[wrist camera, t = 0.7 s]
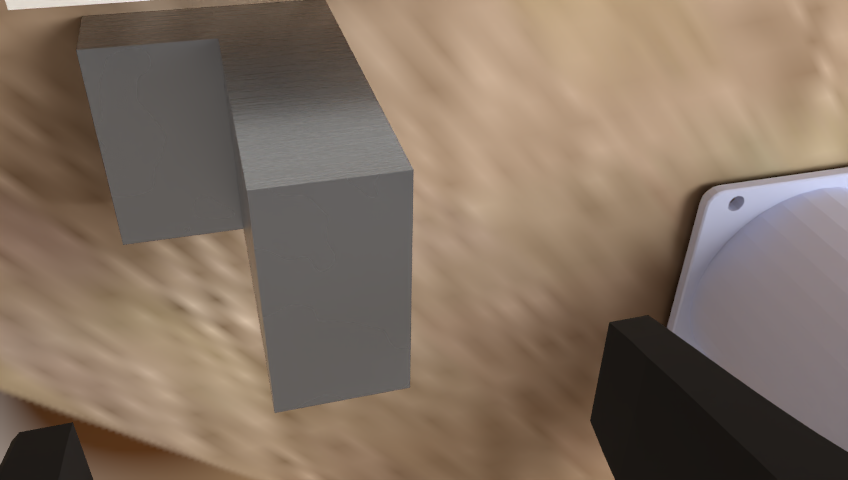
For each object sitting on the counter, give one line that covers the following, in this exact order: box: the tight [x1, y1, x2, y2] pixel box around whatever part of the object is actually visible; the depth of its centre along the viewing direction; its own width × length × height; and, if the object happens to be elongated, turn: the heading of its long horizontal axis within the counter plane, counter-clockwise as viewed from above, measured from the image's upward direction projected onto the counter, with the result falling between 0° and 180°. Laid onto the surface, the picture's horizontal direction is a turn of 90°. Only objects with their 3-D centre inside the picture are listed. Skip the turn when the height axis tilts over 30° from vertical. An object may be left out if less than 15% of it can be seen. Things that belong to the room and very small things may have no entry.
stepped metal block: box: [76, 0, 413, 413], centre depth 15 cm, size 5×4×8 cm
